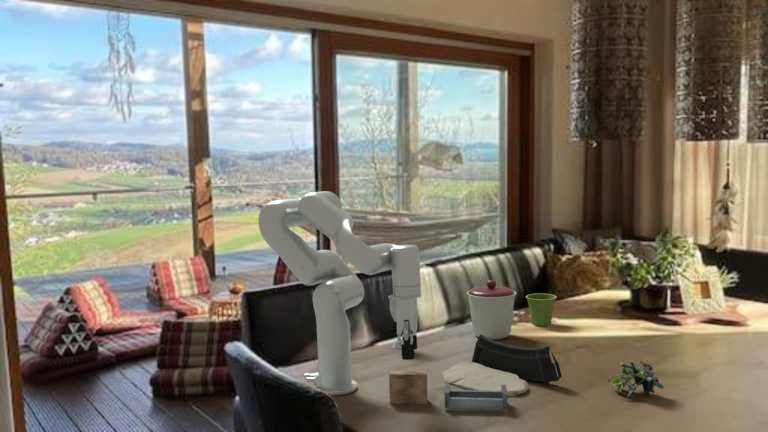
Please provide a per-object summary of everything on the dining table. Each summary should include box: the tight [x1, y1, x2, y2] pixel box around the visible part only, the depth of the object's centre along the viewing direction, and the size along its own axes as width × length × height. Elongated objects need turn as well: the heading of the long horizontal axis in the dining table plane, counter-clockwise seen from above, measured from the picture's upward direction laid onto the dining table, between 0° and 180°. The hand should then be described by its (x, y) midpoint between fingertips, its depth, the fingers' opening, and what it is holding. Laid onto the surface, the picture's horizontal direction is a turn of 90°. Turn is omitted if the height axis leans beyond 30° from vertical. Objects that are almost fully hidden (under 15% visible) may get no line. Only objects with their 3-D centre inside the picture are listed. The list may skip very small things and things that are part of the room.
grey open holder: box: [444, 383, 509, 413], centre depth 173 cm, size 16×7×5 cm, turn 83°
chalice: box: [387, 294, 402, 350], centre depth 232 cm, size 7×7×18 cm
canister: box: [466, 279, 517, 341], centre depth 242 cm, size 18×18×21 cm
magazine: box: [471, 334, 563, 386], centre depth 197 cm, size 17×3×30 cm
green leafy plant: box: [607, 360, 665, 399], centre depth 178 cm, size 11×11×12 cm
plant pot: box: [525, 293, 557, 327], centre depth 259 cm, size 12×12×11 cm
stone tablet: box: [442, 361, 529, 397], centre depth 192 cm, size 16×30×2 cm, turn 36°
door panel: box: [388, 370, 429, 405], centre depth 178 cm, size 10×3×8 cm, turn 83°
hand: (409, 354), depth 177 cm, fingers open, 9 cm apart
